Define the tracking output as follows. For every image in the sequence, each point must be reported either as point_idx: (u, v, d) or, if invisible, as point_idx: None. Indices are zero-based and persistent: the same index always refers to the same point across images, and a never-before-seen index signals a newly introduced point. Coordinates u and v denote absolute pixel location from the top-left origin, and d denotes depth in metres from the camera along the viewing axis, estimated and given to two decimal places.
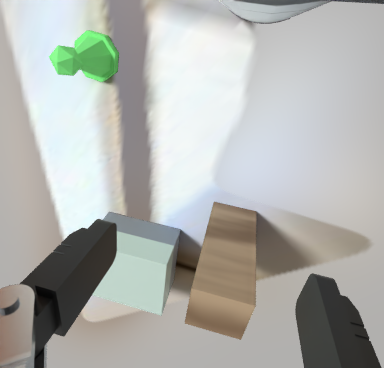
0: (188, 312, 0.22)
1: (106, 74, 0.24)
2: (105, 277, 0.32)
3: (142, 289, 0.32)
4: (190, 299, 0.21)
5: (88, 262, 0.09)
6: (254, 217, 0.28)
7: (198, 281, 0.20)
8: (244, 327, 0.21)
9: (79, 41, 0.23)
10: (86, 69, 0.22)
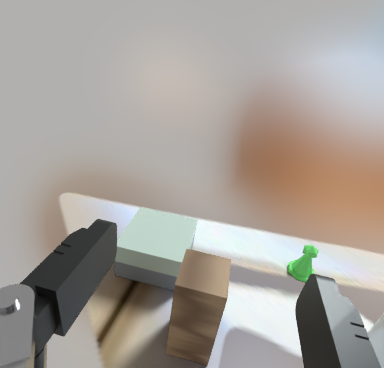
0: (201, 253, 0.28)
1: (294, 272, 0.43)
2: (162, 220, 0.42)
3: (150, 240, 0.37)
4: (217, 256, 0.28)
5: (88, 262, 0.09)
6: None
7: None
8: (194, 288, 0.24)
9: None
10: (302, 261, 0.42)
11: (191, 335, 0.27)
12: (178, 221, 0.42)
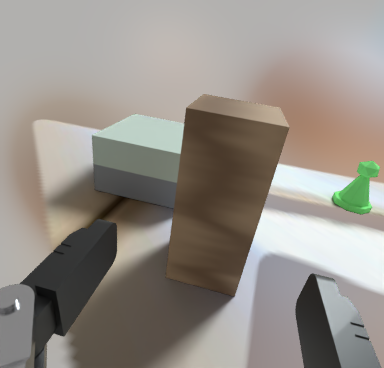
0: (229, 99, 0.17)
1: (344, 201, 0.31)
2: (164, 125, 0.30)
3: (146, 136, 0.26)
4: (257, 104, 0.16)
5: (88, 262, 0.09)
6: None
7: None
8: (224, 114, 0.12)
9: None
10: (355, 184, 0.30)
11: (211, 233, 0.16)
12: None
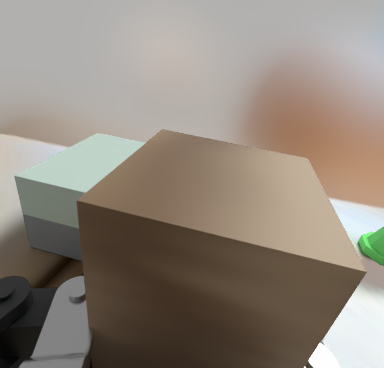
0: (210, 140, 0.09)
1: (377, 251, 0.23)
2: (133, 150, 0.22)
3: (100, 173, 0.18)
4: (264, 150, 0.08)
5: None
6: None
7: None
8: (179, 221, 0.04)
9: None
10: None
11: None
12: None
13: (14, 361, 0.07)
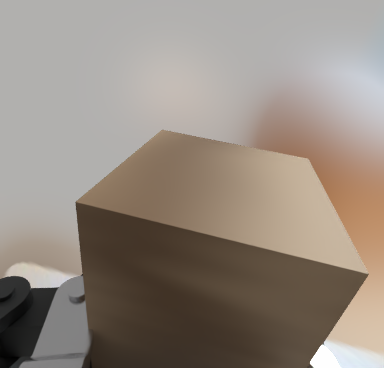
0: (210, 140, 0.09)
1: None
2: None
3: None
4: (264, 151, 0.08)
5: None
6: None
7: None
8: (179, 222, 0.04)
9: None
10: None
11: None
12: None
13: (14, 361, 0.07)
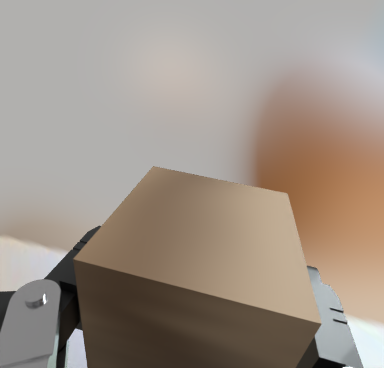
0: (197, 177, 0.09)
1: None
2: None
3: None
4: (247, 186, 0.09)
5: None
6: None
7: None
8: (163, 277, 0.05)
9: None
10: None
11: None
12: None
13: None
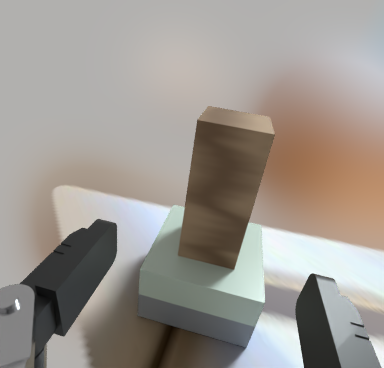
0: (229, 110, 0.21)
1: None
2: None
3: None
4: (251, 114, 0.20)
5: (88, 262, 0.09)
6: None
7: None
8: (226, 124, 0.16)
9: None
10: None
11: (215, 217, 0.20)
12: None
13: None
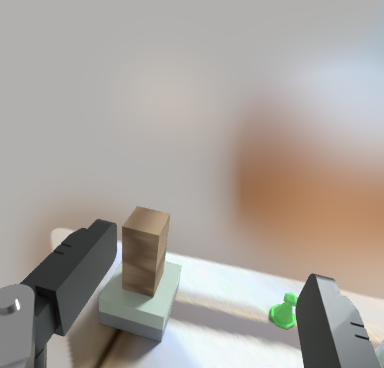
0: (148, 209, 0.37)
1: (276, 318, 0.44)
2: None
3: None
4: (160, 212, 0.37)
5: (87, 262, 0.09)
6: (154, 291, 0.38)
7: (168, 219, 0.37)
8: (136, 229, 0.33)
9: None
10: (282, 308, 0.43)
11: (138, 270, 0.36)
12: None
13: None
